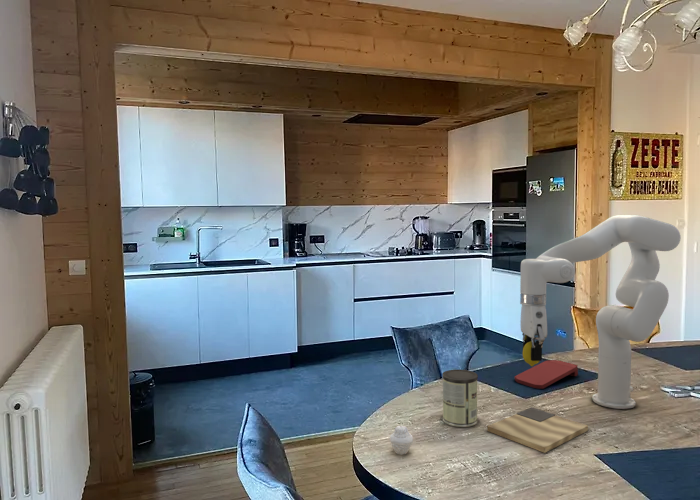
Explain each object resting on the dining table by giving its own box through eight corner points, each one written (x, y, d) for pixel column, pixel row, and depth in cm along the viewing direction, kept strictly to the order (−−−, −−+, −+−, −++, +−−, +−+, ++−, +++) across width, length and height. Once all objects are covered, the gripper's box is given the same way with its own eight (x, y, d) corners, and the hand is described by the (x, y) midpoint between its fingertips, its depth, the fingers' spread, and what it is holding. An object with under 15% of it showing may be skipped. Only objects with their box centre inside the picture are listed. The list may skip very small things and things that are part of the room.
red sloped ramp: (541, 399, 187) (582, 376, 200) (540, 386, 186) (582, 363, 199) (513, 390, 197) (554, 368, 210) (512, 377, 196) (553, 356, 209)
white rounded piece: (396, 459, 135) (396, 432, 134) (385, 449, 140) (385, 423, 140) (417, 454, 137) (417, 427, 137) (405, 445, 143) (405, 419, 142)
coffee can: (445, 412, 166) (445, 367, 165) (479, 416, 163) (479, 370, 162) (439, 424, 156) (439, 377, 155) (475, 429, 153) (475, 381, 152)
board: (531, 412, 165) (531, 407, 165) (587, 430, 151) (587, 424, 151) (487, 431, 152) (487, 425, 151) (544, 453, 138) (544, 446, 137)
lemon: (542, 369, 161) (542, 343, 160) (523, 368, 162) (523, 342, 162) (540, 364, 166) (540, 339, 166) (521, 363, 168) (522, 338, 167)
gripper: (557, 303, 154) (556, 365, 156) (533, 294, 172) (533, 350, 173) (532, 304, 154) (531, 365, 155) (511, 295, 171) (510, 350, 172)
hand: (532, 357), depth 164 cm, fingers closed on lemon, 5 cm apart
